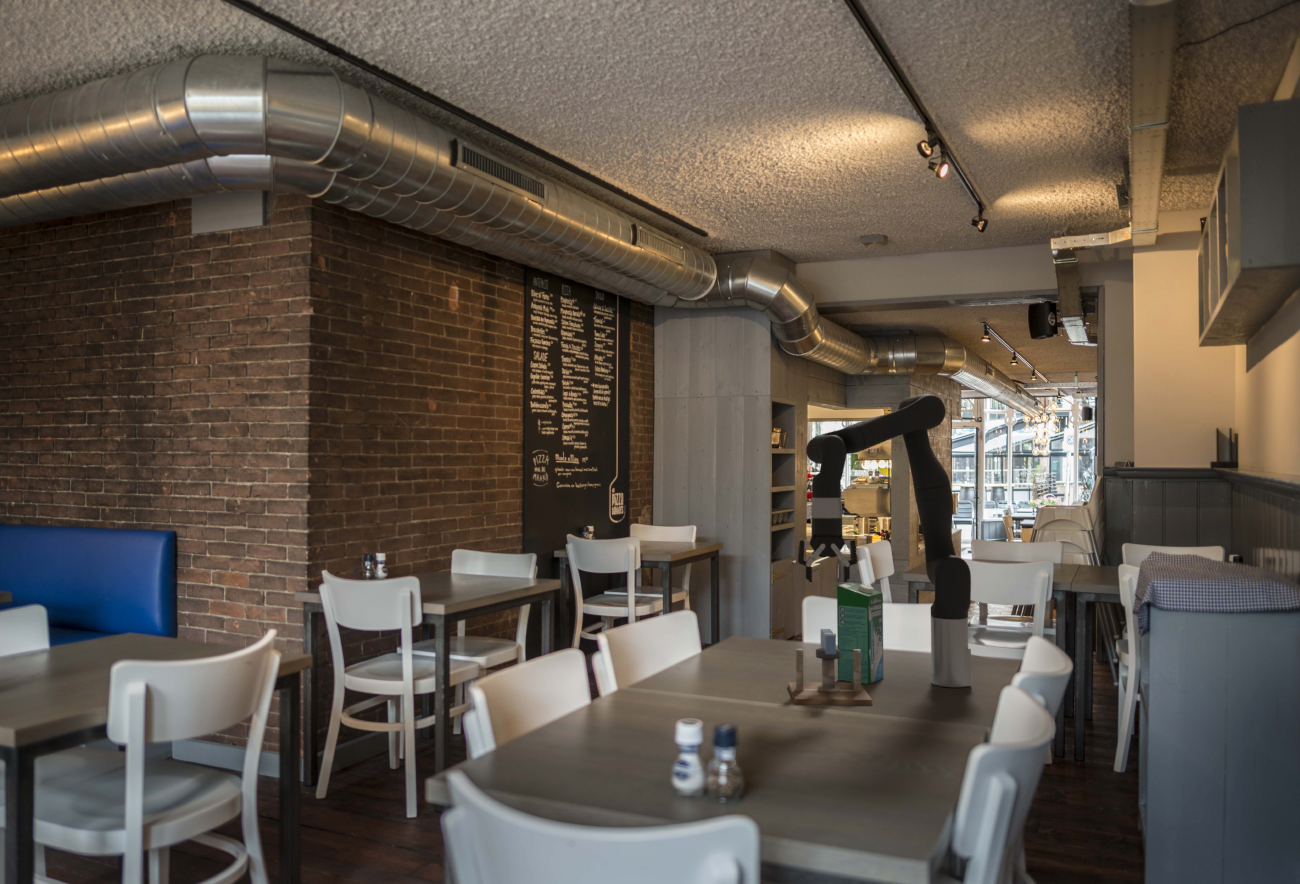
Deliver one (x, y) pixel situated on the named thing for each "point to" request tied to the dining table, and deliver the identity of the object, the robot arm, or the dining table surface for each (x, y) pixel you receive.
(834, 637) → the blue long block
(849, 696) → the base plate
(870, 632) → the milk carton
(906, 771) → the dining table surface
